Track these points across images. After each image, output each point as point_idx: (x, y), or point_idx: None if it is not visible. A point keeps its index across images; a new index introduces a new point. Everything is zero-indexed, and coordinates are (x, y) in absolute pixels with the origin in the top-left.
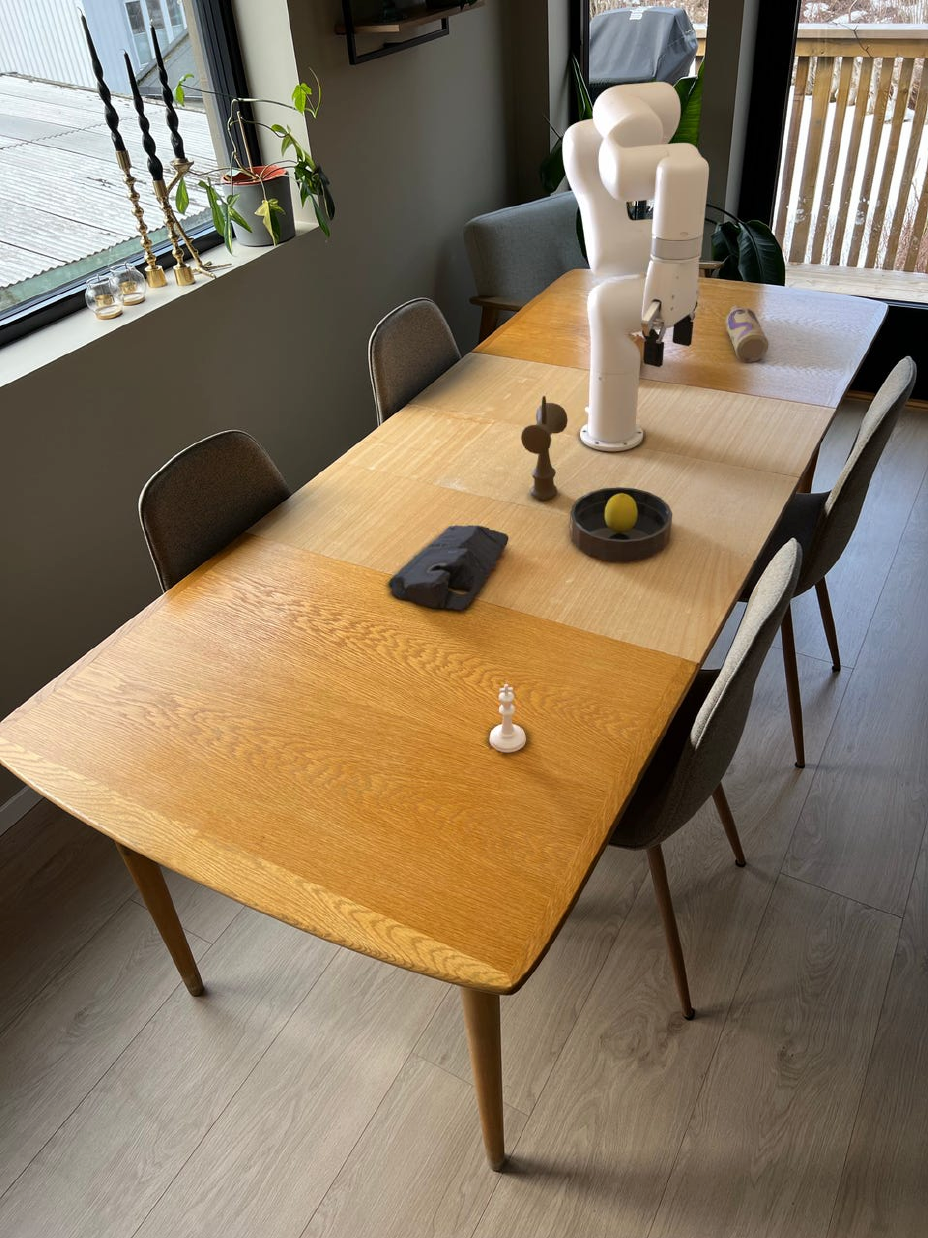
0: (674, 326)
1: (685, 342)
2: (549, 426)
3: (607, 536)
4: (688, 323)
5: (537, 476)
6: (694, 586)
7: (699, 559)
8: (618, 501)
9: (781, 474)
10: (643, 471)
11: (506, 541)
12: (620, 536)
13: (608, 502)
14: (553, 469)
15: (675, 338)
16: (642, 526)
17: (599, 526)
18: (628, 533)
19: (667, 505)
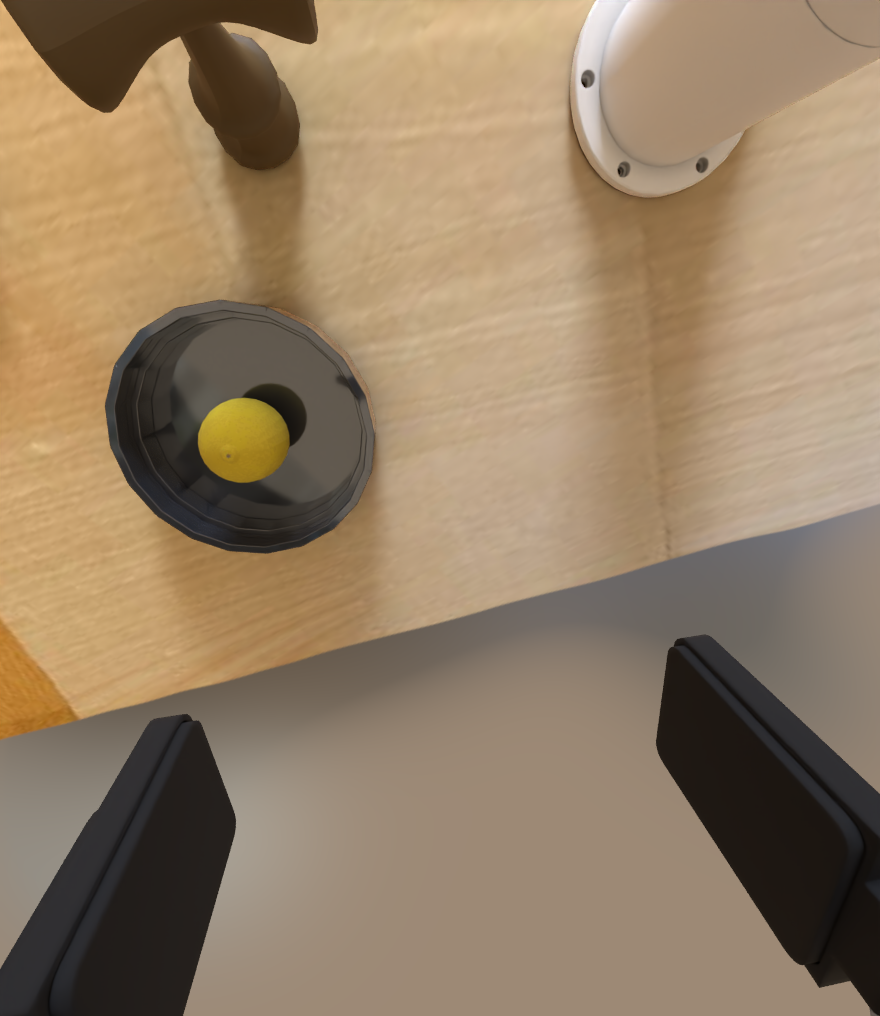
0: (784, 770)
1: (669, 750)
2: (150, 1)
3: None
4: (801, 958)
5: (192, 88)
6: (236, 623)
7: (311, 587)
8: (208, 457)
9: (665, 542)
10: (534, 298)
11: None
12: None
13: (208, 421)
14: (265, 113)
15: (692, 689)
16: (318, 450)
17: (246, 372)
18: None
19: (354, 502)
